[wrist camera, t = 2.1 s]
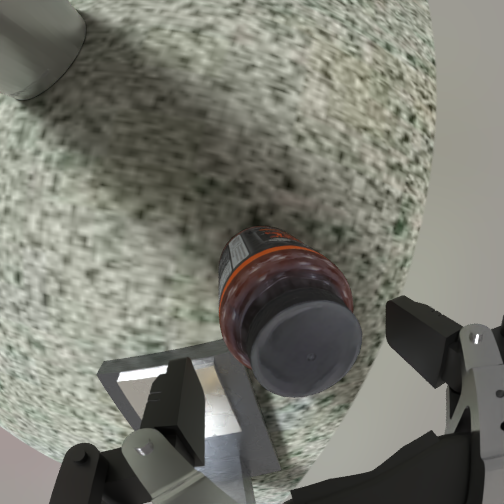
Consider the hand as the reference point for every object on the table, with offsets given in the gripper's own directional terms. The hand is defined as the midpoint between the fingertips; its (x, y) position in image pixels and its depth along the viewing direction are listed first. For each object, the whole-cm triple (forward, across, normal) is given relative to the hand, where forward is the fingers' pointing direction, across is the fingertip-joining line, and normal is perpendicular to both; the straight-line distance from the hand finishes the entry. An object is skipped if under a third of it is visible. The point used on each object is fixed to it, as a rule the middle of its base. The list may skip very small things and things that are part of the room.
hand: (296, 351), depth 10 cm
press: (+10, +8, +14) cm, 19 cm away
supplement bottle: (+10, 0, -1) cm, 10 cm away
